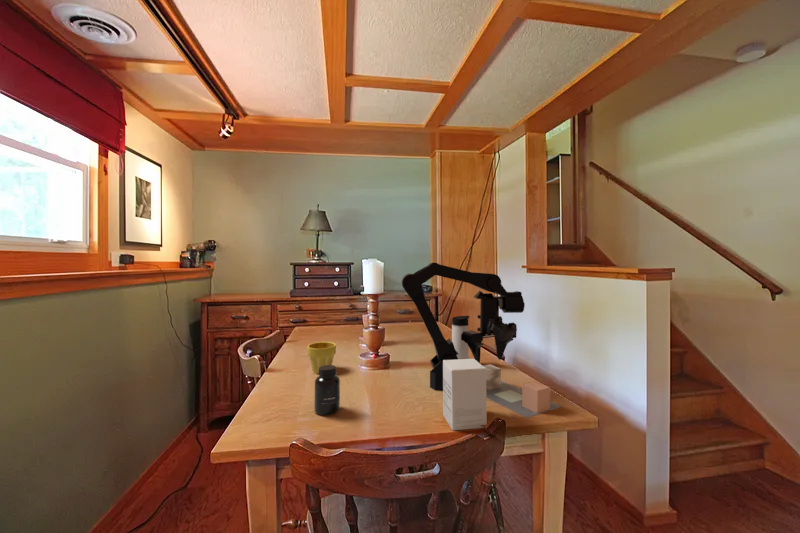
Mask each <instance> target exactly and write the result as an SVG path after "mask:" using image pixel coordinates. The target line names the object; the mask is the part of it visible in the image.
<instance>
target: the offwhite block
mask: <svg viewBox="0 0 800 533" xmlns="http://www.w3.org/2000/svg"><path fill="white" fill-rule="evenodd" d="M483 366H484V367H485V368H486V389H487V390H492V389H497V388H501V381H502V369H501V367H497V366H495V365H493V364H485V365H483Z"/></svg>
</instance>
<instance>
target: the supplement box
mask: <svg viewBox="0 0 800 533" xmlns="http://www.w3.org/2000/svg"><path fill="white" fill-rule="evenodd" d="M442 410H443V411H442V414H443V417H444V419H445V420H446V422H447V424H448V425H449V427H450V429H451V430H452V431H461V430H462V431H463V430H464V431H465V430H473V429H474V430H475V429H485V427H484V426H483V425H487V423H488V422H487V418H488V417H487V414H488V413H487V411H488V410H487V398H486V368H485V367H484V365H482V364H481V362H480V363H479V362H477V361H476V360H475V358H468V359H457V360H443V391H442Z"/></svg>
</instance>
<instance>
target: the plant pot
mask: <svg viewBox="0 0 800 533" xmlns="http://www.w3.org/2000/svg"><path fill="white" fill-rule="evenodd" d="M306 347H307V357H308V356H309V360H310V365H311V370H312V373H314V374H318V372H319V367H320V366H323V365H333V362H334V356H335V355H336V353H337V344H336V343H334V342H331V341H318V342H313V343H309V344H308V345H307V346H306Z"/></svg>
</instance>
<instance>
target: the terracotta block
mask: <svg viewBox="0 0 800 533" xmlns="http://www.w3.org/2000/svg"><path fill="white" fill-rule="evenodd" d="M521 389H522V406H523V407H525V408H527V409H529V410H532V411H534V412H536V413H540V412H543V411H546V410H549V409H550V402H551V387H550V386H548V385H545V384H543V383H540V382H538V381H531V382H528V383H523V384H522V387H521Z"/></svg>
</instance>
